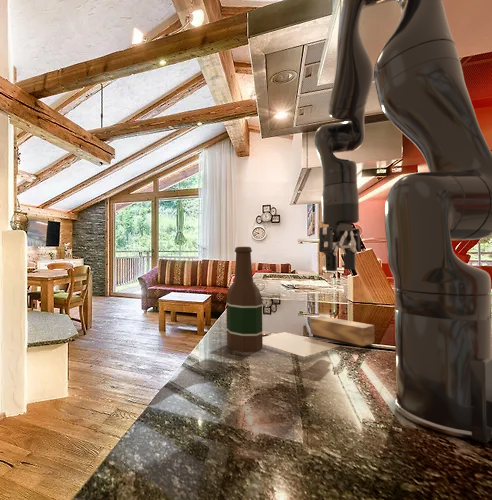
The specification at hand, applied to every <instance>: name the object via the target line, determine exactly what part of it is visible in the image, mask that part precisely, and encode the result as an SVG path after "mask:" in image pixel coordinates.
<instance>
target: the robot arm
mask: <svg viewBox="0 0 492 500" xmlns="http://www.w3.org/2000/svg"><path fill="white" fill-rule="evenodd" d="M390 2H396V3H397V4H398V5H399V9H400V17H399V19H398V20H397V23H396V25H395V27H394V29H393V30H392V32H391V34H390V35H389V36H388V39H386V42H385V43H384V45H383V46H382V49H381V50H380V52H379V54H378V56H377V59H376V61H375V64H373V61H372V59H371V56H370V54H369V52H368V50H367V48H366V46H365V43H364V40H363V38H362V33H361V18H362V13H363V10H364V9H366V8H367V9H368V8H370V7H374V6H378V5H381V4H385V3H390ZM339 3H340V4H339V16H338V30H337V42H336V43H337V46H336V63H335V74H334V79H333V85H332V89H331V94H330V99H329V103H328V111H327V112H328V115H329V117H331V118H332V119H335V120H339V121H340V122H334V123H326V124H322V125H321V126H319V127H318V128H317V130H316V131H315V133H314V137H313V146H314V148H315V152H316V154H317V157H318V159H319V162H320V167H321V173H322V192H321V223H322V224H323V225H326V226H320V227H319V234H318V235H319V236H318V238H319V239H318V241H319V242H318V251H319V253H322V254H323V255H324V256H325V271H328V272H336V271H337V270H338V255H337V254H338V252H339V249H342V252H343V269H344V270H347V271H355V270H356V255H357V254H358V253H360V252H361V233H360V232H361V231H360V228H353V224H356V223H359V221H360V203H359V201H360V200H359V198H360V197H359V196H360V195H359V189H358V171H357V170H358V167H357V163H356V161H354V160H352V159H346V158H345V159H344V158H339V157H337V156H336V155H335V154H337V153H347V152H348V153H349V152H353V151H357V150H358V149H359V148H361V146H362V145H363V144H364V143H365V140H366V126H365V124H366V123H365V114H366V106H367V102H368V100H369V99H368V98H369V96H370V93H371V89H372V85H373V81H374V85H375V90H376V95H377V99H378V100H377V101H378V104H379V107H380V109H381V112H382V113H383V114H384V116H385V117H386V118H387V119H388V120H389V121H390V122H391V123H392V125H393V126H394V127H396V128H397V129H398V131H400V132H401V133H402V134H403V135H404V136H405V137H406V138H407V139H409V140H410V141H411V143H413V144H414V146H415V147H416V148H417V149H418V150H419V151H420V153H421V155H422V156H423V158H424V160H425V162H426V166H427V169H428V171H423V172H420V171H419V172H414V173H409V174H406V175H403V176H402V177H400V178H399V179H398V180H397V181H396V182H395V183H394V184H393V185H392V186H391V188H390V189H389V191H388V193H387V196H386V199H385V204H384V214H383V215H384V231H385V240H386V241H385V242H386V253H387V263H388V267H389V270H390V272H391V275H392V278H393V286H394V287H393V288H394V289H393V290H394V292H393V293H394V294H393V295H394V344H395V346H394V347H395V348H394V349H395V385H396V386H395V397H396V398H395V409H396V411H397V412H398V413H399V414H400V415H402V416H403V417H404V418H406V419H408V420H410V421H411V422H413V423H415V424H417V425H420V426H422V427H424V428H427V429H430V430H433V431H435V432H437V433H442V434H445V435H449V436H453V437H457V438H464V439H469V440H474V441H476V442H478V443H482V444H486V445H487V444H488V443H489V442H490V441H491V440H492V280H491V275H490V274H489V272H487V271H486V270H484V269H481V268H479V267H476V266H473V265H471V264H468V263H466V262H464V261H463V260H461V259H460V258H459V257H458V256H457V255H456V253H455V251H454V249H453V248H454V247H453V245H452V244H453V243H452V241H475V240H482V239H485V238H488V237H490V236H491V235H492V151H491V149H490V147H489V145H488V143H487V140H486V138H485V136H484V134H483V132H482V130H481V127H480V124H479V121H478V118H477V115H476V112H475V109H474V106H473V103H472V100H471V96H470V93H469V91H468V88H467V85H466V82H465V76H464V72H463V67H462V63H461V60H460V55H459V51H458V48H457V45H456V42H455V39H454V37H453V34H452V31H451V28H450V25H449V21H448V18H447V13H446V9H445V5H444V2H443V0H340V2H339Z"/></svg>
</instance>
